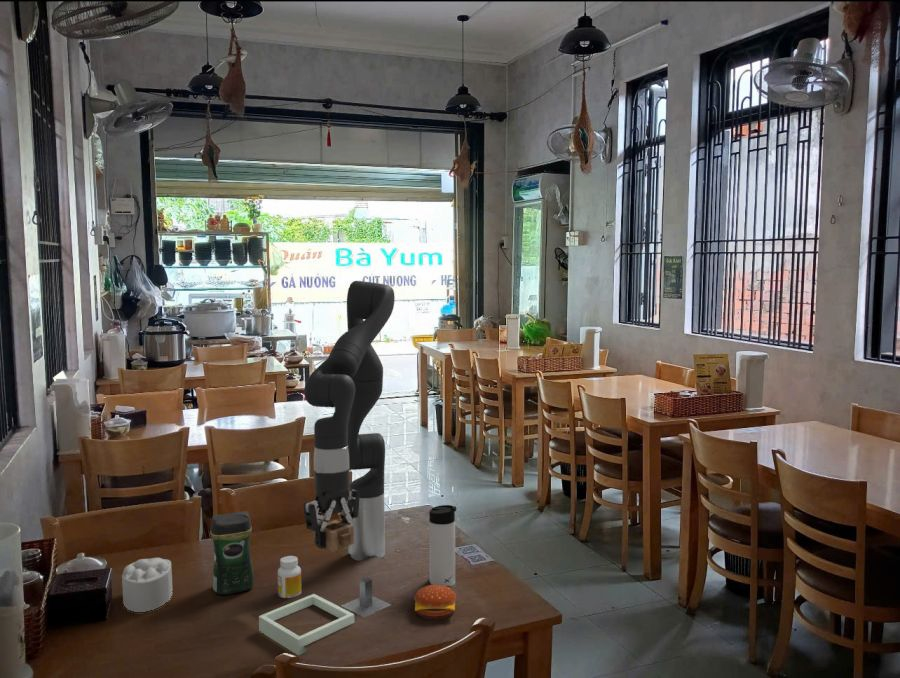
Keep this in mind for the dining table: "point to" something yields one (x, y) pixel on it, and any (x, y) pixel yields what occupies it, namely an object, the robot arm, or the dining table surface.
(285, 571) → the supplement bottle
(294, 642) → the tray
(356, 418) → the robot arm
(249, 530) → the coffee jar
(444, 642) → the dining table surface
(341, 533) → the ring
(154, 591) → the lumpy-topped squat cylinder
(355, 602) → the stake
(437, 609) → the hamburger
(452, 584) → the travel mug
